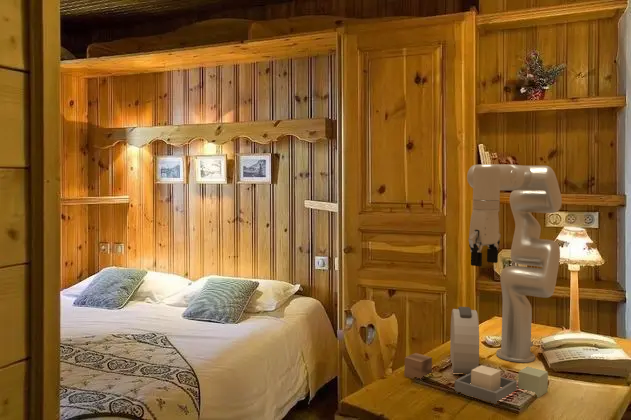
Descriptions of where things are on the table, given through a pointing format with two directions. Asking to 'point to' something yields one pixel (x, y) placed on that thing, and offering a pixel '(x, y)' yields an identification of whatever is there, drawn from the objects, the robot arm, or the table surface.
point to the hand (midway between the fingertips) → (484, 264)
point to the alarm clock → (464, 340)
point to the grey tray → (475, 391)
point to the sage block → (533, 380)
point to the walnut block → (417, 365)
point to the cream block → (486, 378)
